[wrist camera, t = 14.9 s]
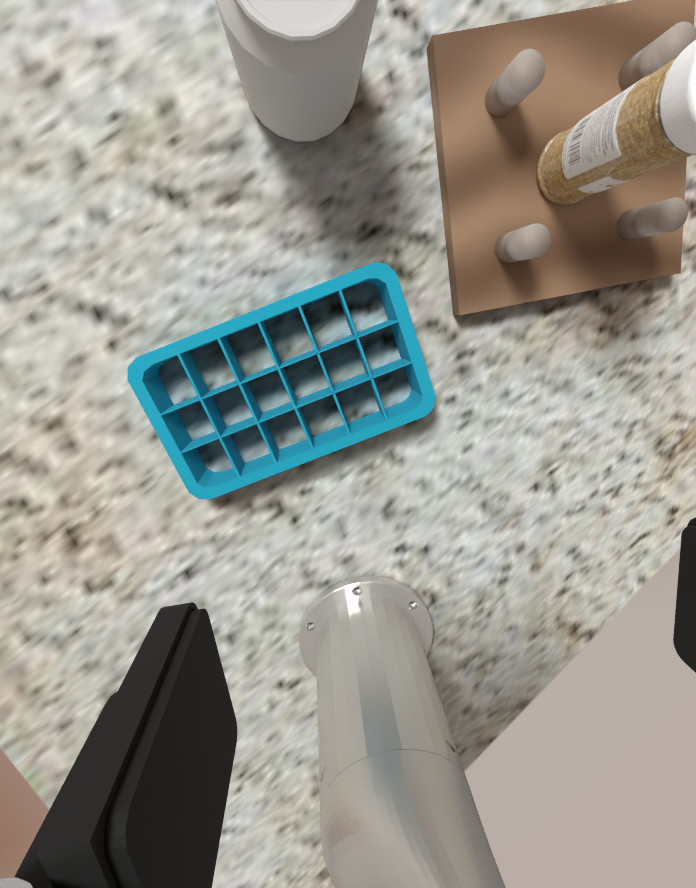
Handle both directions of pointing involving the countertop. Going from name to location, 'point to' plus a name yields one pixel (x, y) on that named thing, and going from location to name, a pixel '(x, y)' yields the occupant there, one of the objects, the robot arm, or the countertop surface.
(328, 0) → the can
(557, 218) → the peg board
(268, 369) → the ice cube tray
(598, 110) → the sprinkles bottle
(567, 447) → the countertop surface
